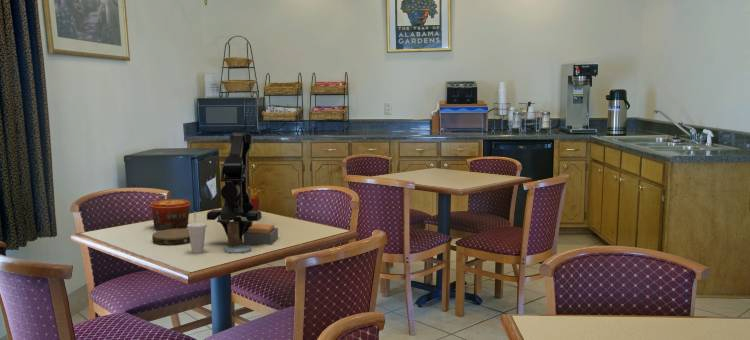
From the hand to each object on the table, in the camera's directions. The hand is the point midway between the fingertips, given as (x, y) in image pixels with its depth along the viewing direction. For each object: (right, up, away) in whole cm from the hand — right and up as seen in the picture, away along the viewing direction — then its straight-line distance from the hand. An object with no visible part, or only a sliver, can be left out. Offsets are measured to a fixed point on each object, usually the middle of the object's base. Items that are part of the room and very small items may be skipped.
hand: (234, 238), depth 211 cm
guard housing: (+9, -2, +6) cm, 10 cm away
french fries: (-4, +3, +42) cm, 42 cm away
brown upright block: (0, -2, 0) cm, 2 cm away
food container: (-32, +1, +27) cm, 42 cm away
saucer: (+3, -3, -8) cm, 9 cm away
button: (+9, +2, +5) cm, 10 cm away
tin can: (-24, -2, +6) cm, 24 cm away
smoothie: (-10, -4, -10) cm, 15 cm away
